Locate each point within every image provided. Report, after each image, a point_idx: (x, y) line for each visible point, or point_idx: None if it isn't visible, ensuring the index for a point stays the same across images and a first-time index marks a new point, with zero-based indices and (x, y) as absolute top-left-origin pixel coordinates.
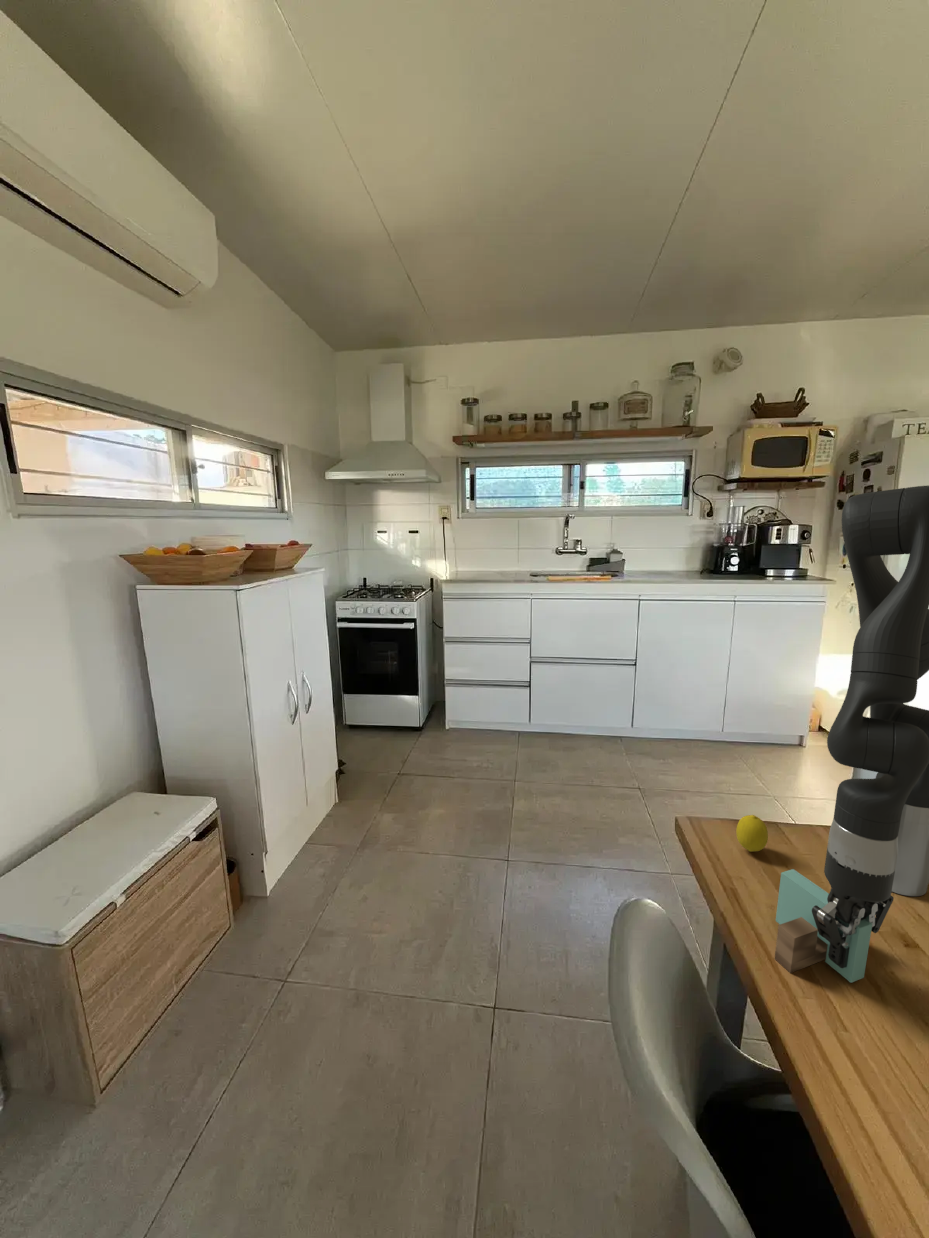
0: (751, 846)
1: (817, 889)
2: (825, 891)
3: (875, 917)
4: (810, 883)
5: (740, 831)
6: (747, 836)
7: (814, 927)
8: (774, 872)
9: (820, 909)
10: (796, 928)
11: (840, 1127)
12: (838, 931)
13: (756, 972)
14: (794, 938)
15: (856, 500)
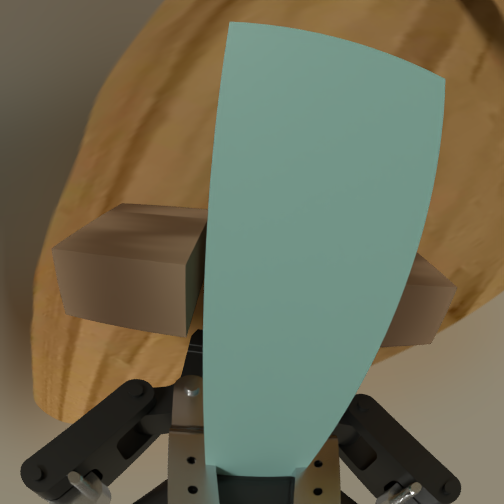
0: None
1: (320, 380)
2: (344, 406)
3: (355, 465)
4: (355, 321)
5: None
6: None
7: (182, 325)
8: (452, 19)
9: (41, 497)
10: (103, 293)
11: (43, 384)
12: (124, 469)
13: (57, 214)
14: (67, 312)
15: None
